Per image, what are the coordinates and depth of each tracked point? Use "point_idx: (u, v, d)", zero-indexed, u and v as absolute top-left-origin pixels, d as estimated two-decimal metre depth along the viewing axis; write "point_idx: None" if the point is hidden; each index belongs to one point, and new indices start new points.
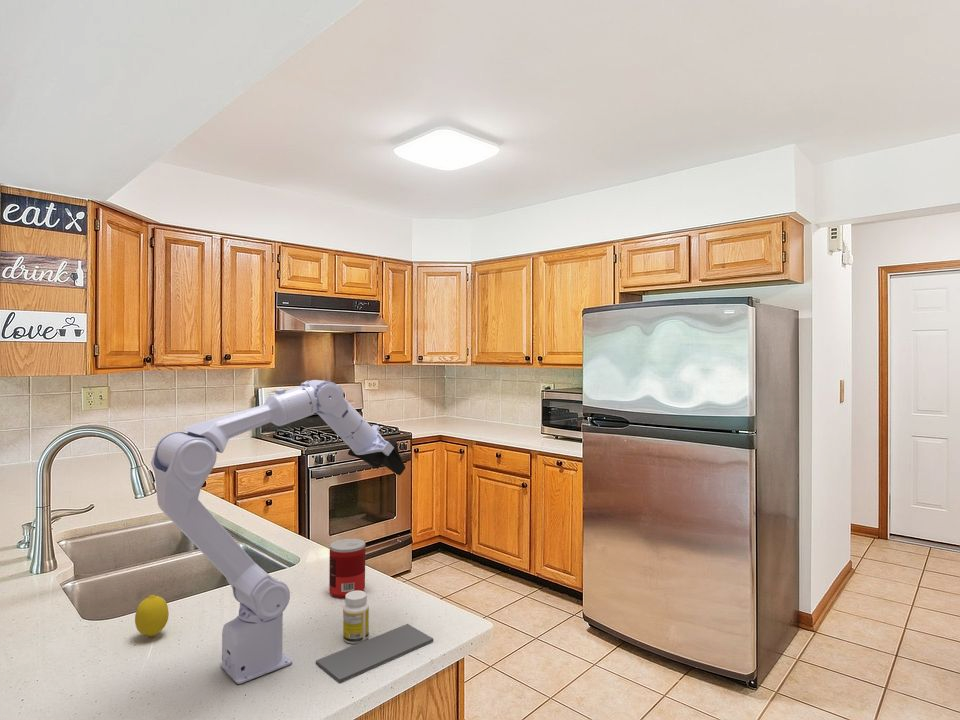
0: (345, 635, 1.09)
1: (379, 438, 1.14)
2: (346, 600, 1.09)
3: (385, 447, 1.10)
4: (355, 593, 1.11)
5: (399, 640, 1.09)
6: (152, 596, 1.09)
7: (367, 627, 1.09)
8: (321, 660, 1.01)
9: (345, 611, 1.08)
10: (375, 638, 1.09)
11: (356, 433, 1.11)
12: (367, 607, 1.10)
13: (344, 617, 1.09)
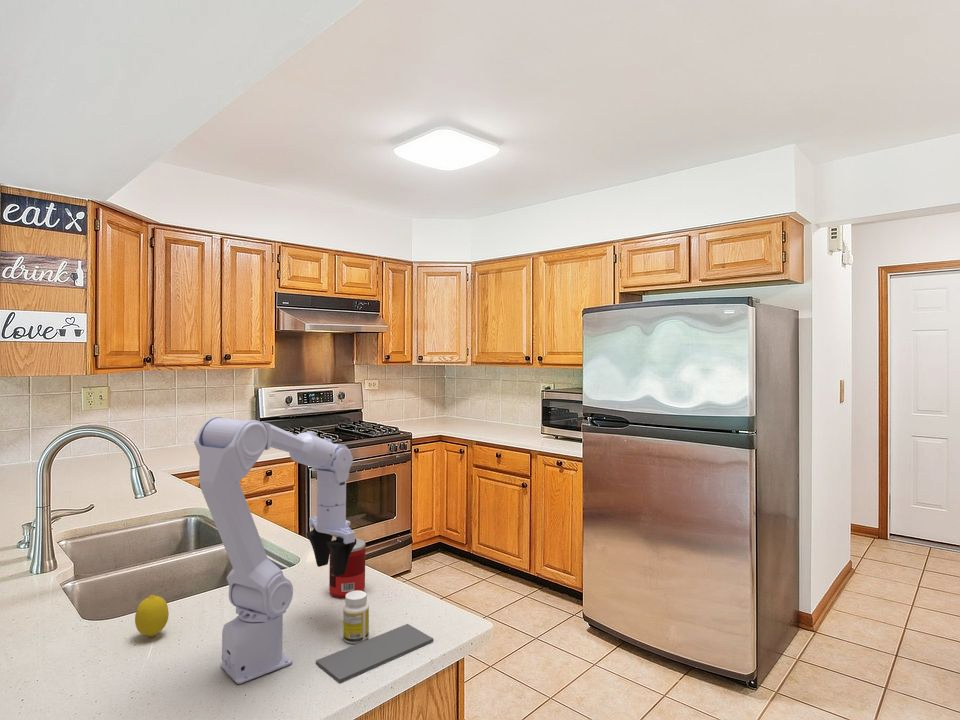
0: (345, 635, 1.09)
1: (346, 529, 1.15)
2: (346, 600, 1.09)
3: (349, 534, 1.11)
4: (355, 593, 1.11)
5: (399, 640, 1.09)
6: (152, 596, 1.09)
7: (367, 627, 1.09)
8: (321, 660, 1.01)
9: (345, 611, 1.08)
10: (375, 638, 1.09)
11: (333, 508, 1.14)
12: (367, 607, 1.10)
13: (344, 617, 1.09)
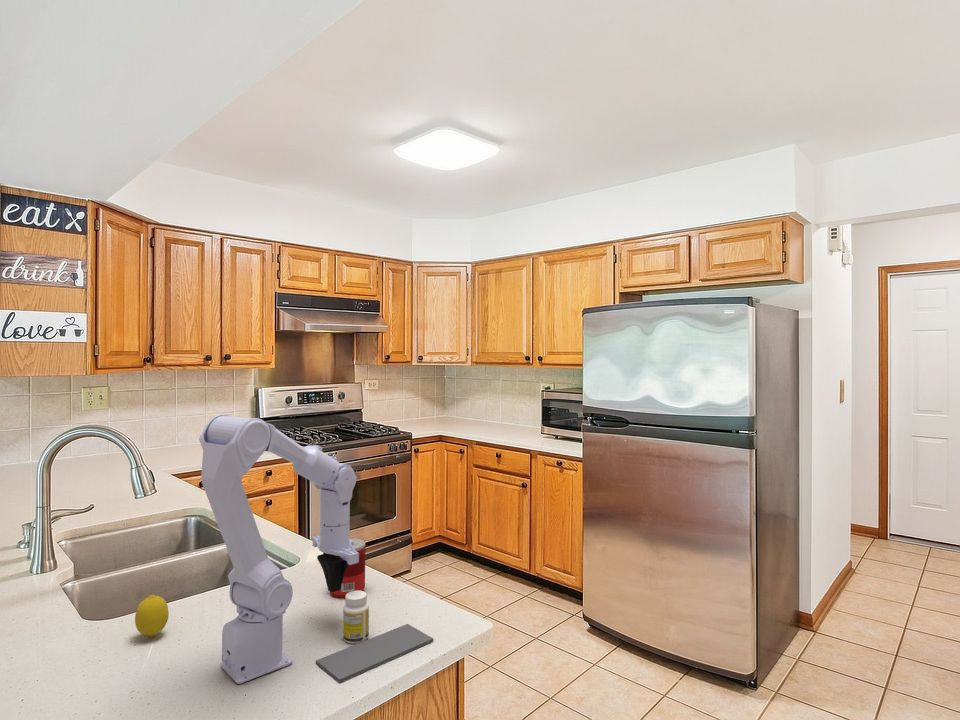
0: (345, 635, 1.09)
1: (349, 549, 1.14)
2: (346, 600, 1.09)
3: (353, 555, 1.10)
4: (355, 593, 1.11)
5: (399, 640, 1.09)
6: (152, 596, 1.09)
7: (367, 627, 1.09)
8: (321, 660, 1.01)
9: (345, 611, 1.08)
10: (375, 638, 1.09)
11: (337, 528, 1.13)
12: (367, 607, 1.10)
13: (344, 617, 1.09)
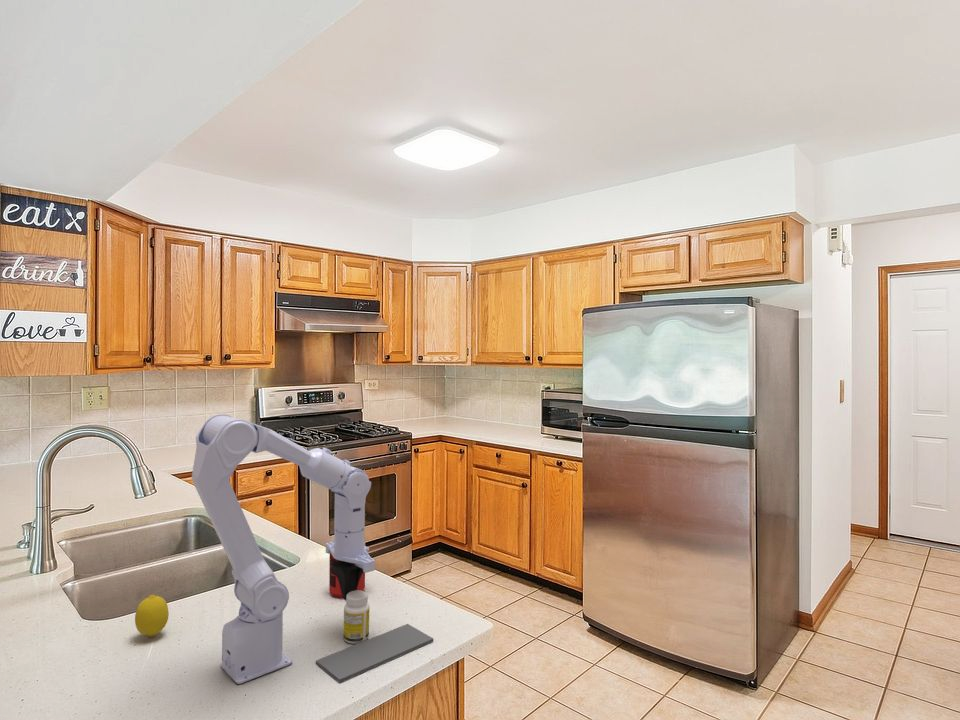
0: (345, 635, 1.08)
1: (365, 556, 1.11)
2: (347, 600, 1.09)
3: (369, 562, 1.07)
4: (356, 592, 1.11)
5: (399, 640, 1.09)
6: (152, 596, 1.09)
7: (367, 627, 1.09)
8: (321, 660, 1.01)
9: (346, 611, 1.08)
10: (375, 638, 1.09)
11: (352, 535, 1.09)
12: (368, 607, 1.10)
13: (344, 617, 1.09)
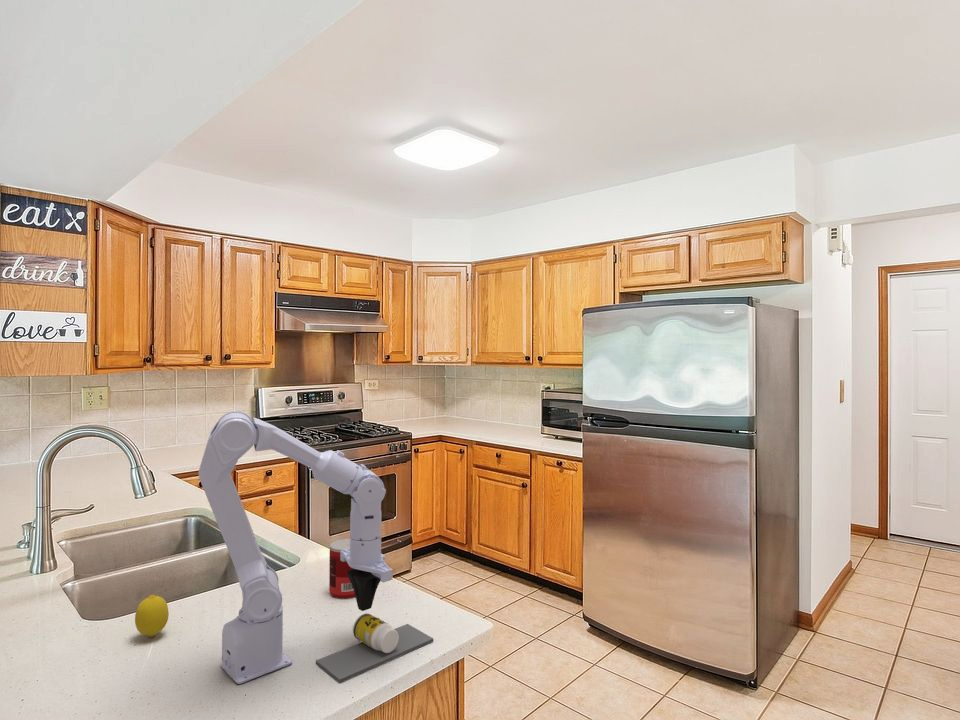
0: (356, 631, 1.06)
1: (382, 564, 1.06)
2: (379, 641, 1.02)
3: (387, 572, 1.02)
4: (392, 636, 1.04)
5: (399, 640, 1.09)
6: (152, 596, 1.09)
7: None
8: (321, 660, 1.01)
9: (371, 639, 1.03)
10: None
11: (369, 542, 1.05)
12: None
13: (367, 634, 1.04)
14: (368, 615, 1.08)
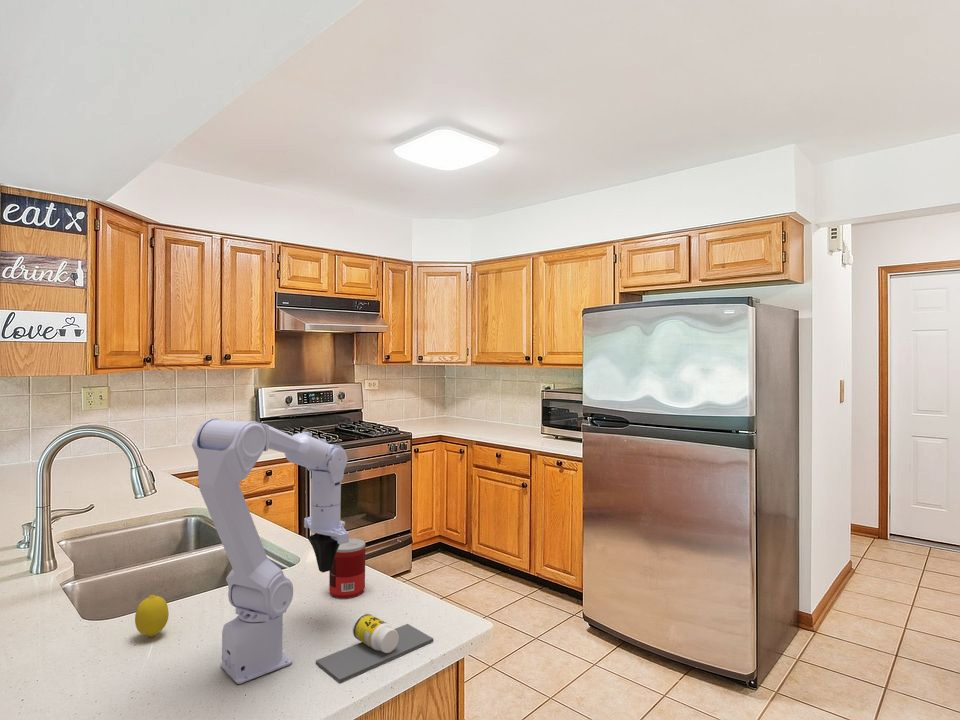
0: (356, 631, 1.06)
1: (340, 529, 1.15)
2: (379, 641, 1.02)
3: (343, 535, 1.11)
4: (392, 636, 1.04)
5: (399, 640, 1.09)
6: (152, 596, 1.09)
7: None
8: (321, 660, 1.01)
9: (371, 639, 1.03)
10: None
11: (328, 508, 1.14)
12: None
13: (367, 634, 1.04)
14: (368, 615, 1.08)
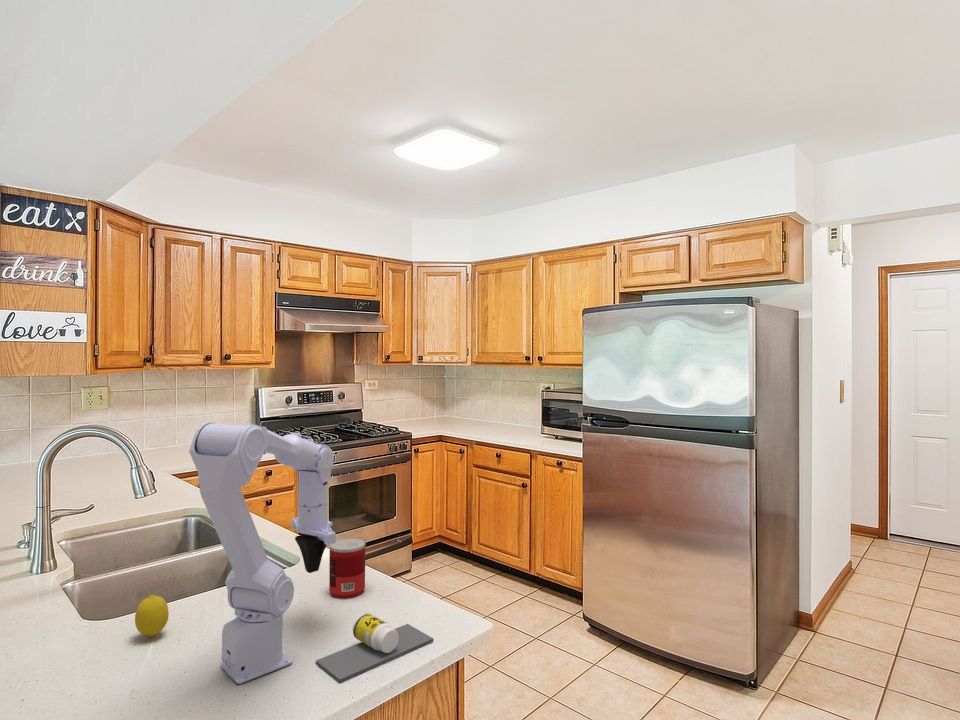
0: (356, 631, 1.06)
1: (327, 530, 1.15)
2: (379, 641, 1.02)
3: (330, 535, 1.11)
4: (392, 636, 1.04)
5: (399, 640, 1.09)
6: (152, 596, 1.09)
7: None
8: (321, 660, 1.01)
9: (371, 639, 1.03)
10: None
11: (315, 509, 1.13)
12: None
13: (367, 634, 1.04)
14: (368, 615, 1.08)
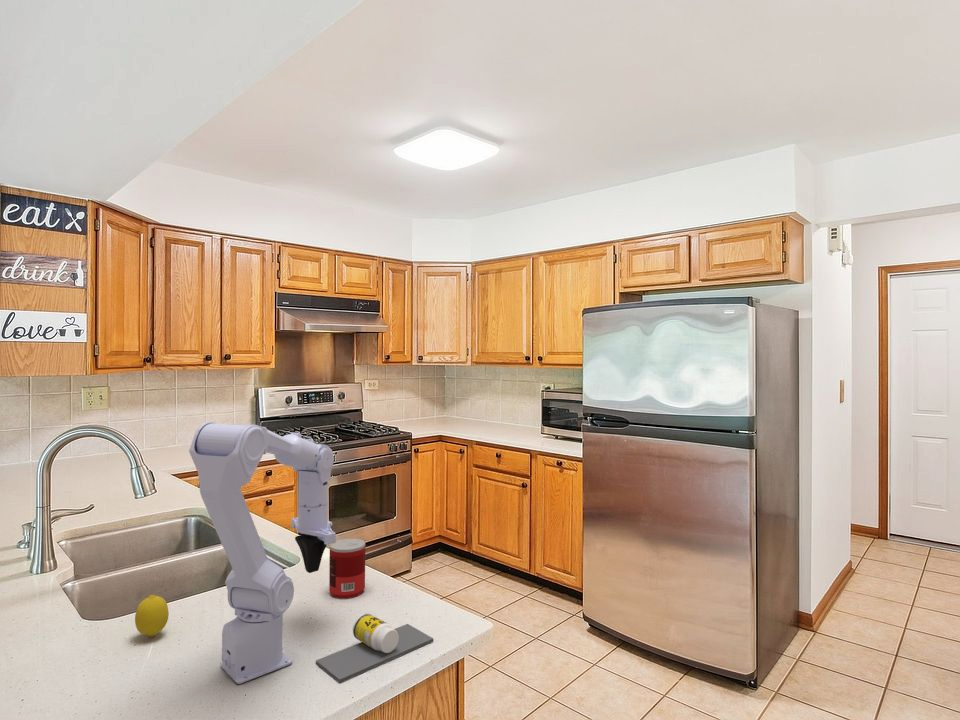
0: (356, 631, 1.06)
1: (327, 530, 1.15)
2: (379, 641, 1.02)
3: (330, 535, 1.11)
4: (392, 636, 1.04)
5: (399, 640, 1.09)
6: (152, 596, 1.09)
7: None
8: (321, 660, 1.01)
9: (371, 639, 1.03)
10: None
11: (315, 509, 1.13)
12: None
13: (367, 634, 1.04)
14: (368, 615, 1.08)
